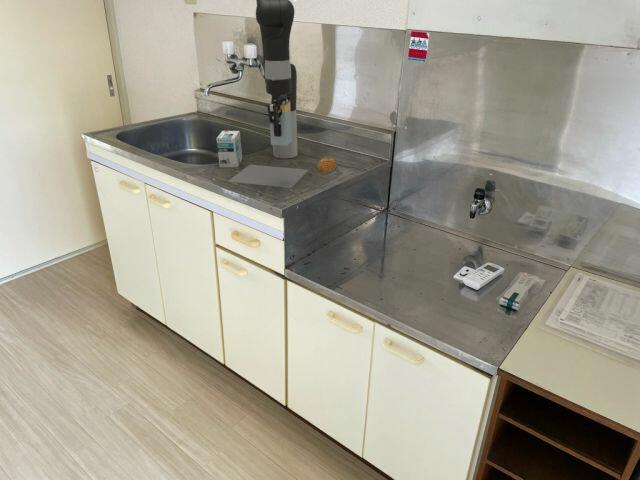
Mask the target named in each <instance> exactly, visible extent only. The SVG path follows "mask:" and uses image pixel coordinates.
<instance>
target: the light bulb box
mask: <svg viewBox="0 0 640 480" xmlns="http://www.w3.org/2000/svg"><path fill="white" fill-rule="evenodd" d="M241 139H242V138H241V131H240V130H222V131H221V132H220V133H219V135H218V136H217V137H216V147H217V155H218V163H219V164H218V165H219V166H218V167H219V168H238V167H239V166H240V164H241V162H242V161H243V154H242V153H243V152H242V140H241Z"/></svg>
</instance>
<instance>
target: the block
mask: <svg viewBox="0 0 640 480" xmlns="http://www.w3.org/2000/svg"><path fill="white" fill-rule="evenodd" d="M281 109H282V116H281V134H282V135H281V136H280V137H277V136H274V126H273V124H272V123H270V122H269V133H270V145H272V146H273V145H283V146H287V145H288V144H289V143H290V142H291V141H292V136H291V109H290V102H288V103H285V105H280V110H281ZM280 110H279V111H277V112H278V113H280ZM278 118H279V116H278Z"/></svg>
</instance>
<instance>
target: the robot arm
mask: <svg viewBox="0 0 640 480" xmlns="http://www.w3.org/2000/svg"><path fill="white" fill-rule="evenodd" d="M255 2H256V7H255V19H256V22H257V24H258V25H259V29H260V31H259V32H260V37H261V45H262V56H263V57H262V59H263V73H264V82H265V92H266V93H267V94H268V95H271V101H270V103H267V106H266V107H267V112H268V117H269V118H268V120H269V124H270V123H272V124H273V126H274V136H277V137H280V136H281V135H282V134H281V116H282V109H281V110H280V105H285V103H288V102H290V109H291V136H292V141H291V142H290V143H289V144H288V145H287V146H283V145H272V151H273V152H272V153H273V154H272V155H273V157H274V158H277V159H293V158H296V157H297V156H298V126H297V125H298V124H297V123H298V120H297V89H298V88H297V86H298V85H297V84H298V82H297V81H298V78H297V77H298V76H297V69H296V66H295V64H294V63H291V61H290V58H291V57H290V56H291V55H290V40H291V39H290V38H291V32H292V27H293V23H294V18H295V7H294V5H293V3H292V1H291V0H256V1H255ZM279 110H280V113H278V112H277V111H279ZM278 116H279V118H278Z"/></svg>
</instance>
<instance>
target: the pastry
mask: <svg viewBox="0 0 640 480" xmlns="http://www.w3.org/2000/svg"><path fill="white" fill-rule="evenodd" d="M337 166H338V163H337V161H336V160H335V158H333V157H329V156H325V157H323V158H321V159H320V160H319V162H318V163H317V170H318V172H319V173H321V174H330V173H332V172H334V171H335V170H336V168H337Z"/></svg>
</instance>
